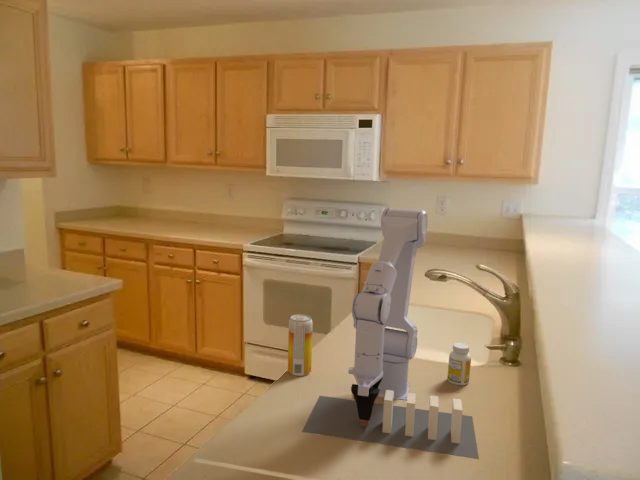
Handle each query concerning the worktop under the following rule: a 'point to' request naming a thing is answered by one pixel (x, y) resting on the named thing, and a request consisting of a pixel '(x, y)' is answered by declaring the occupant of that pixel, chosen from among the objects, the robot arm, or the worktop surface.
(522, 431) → the worktop surface
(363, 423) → the terracotta domino
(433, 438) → the ivory domino
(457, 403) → the ivory domino
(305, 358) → the beer can
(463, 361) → the supplement bottle
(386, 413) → the ivory domino
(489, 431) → the worktop surface
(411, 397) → the ivory domino
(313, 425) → the charcoal mat
